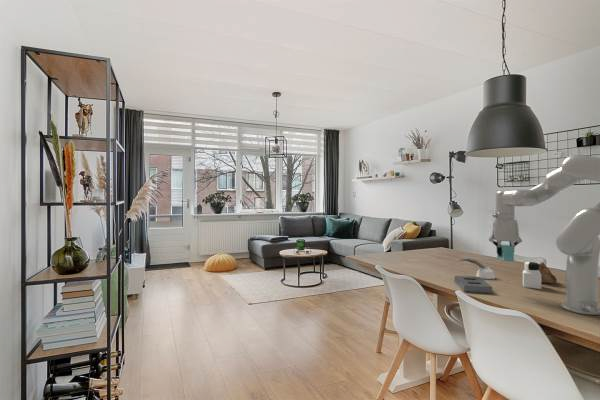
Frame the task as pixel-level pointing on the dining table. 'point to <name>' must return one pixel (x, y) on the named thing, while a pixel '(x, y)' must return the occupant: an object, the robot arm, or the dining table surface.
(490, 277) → the inkwell
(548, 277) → the decorative rock
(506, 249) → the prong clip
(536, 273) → the medicine bottle
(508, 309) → the dining table surface
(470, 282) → the slot rail
